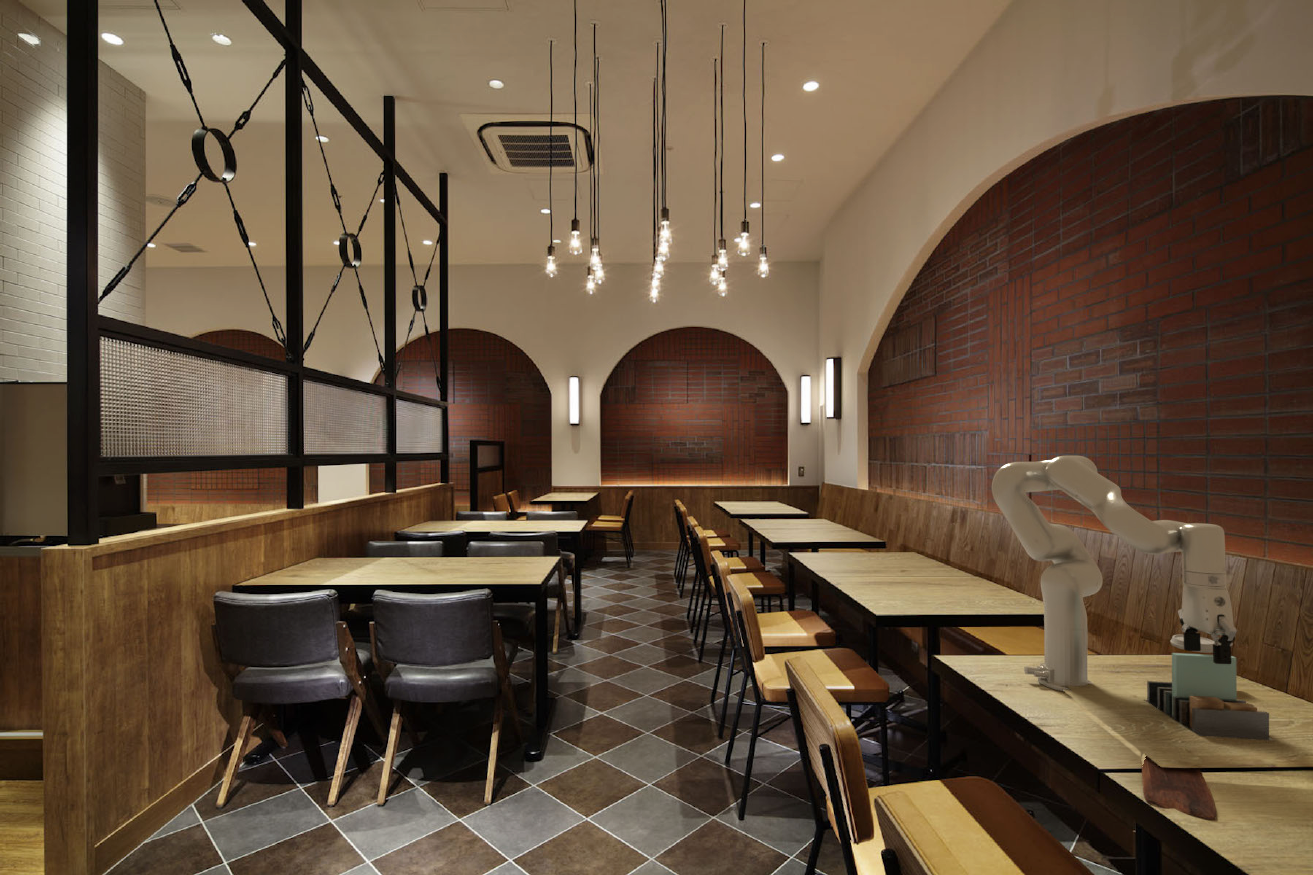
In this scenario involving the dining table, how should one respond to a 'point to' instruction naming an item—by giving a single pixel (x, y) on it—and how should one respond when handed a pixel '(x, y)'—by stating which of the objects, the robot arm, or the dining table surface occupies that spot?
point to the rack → (1209, 715)
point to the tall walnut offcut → (1204, 703)
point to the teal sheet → (1202, 677)
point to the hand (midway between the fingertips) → (1206, 656)
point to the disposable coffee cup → (1205, 649)
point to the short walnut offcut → (1238, 706)
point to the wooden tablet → (1177, 790)
